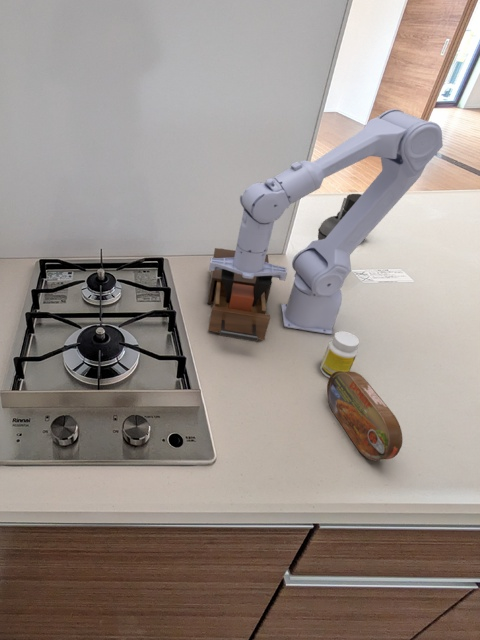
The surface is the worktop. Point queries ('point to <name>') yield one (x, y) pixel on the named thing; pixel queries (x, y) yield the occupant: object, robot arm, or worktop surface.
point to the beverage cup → (330, 224)
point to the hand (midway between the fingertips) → (239, 301)
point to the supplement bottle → (340, 353)
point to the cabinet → (238, 278)
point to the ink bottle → (349, 203)
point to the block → (241, 297)
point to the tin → (364, 416)
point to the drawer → (238, 318)
